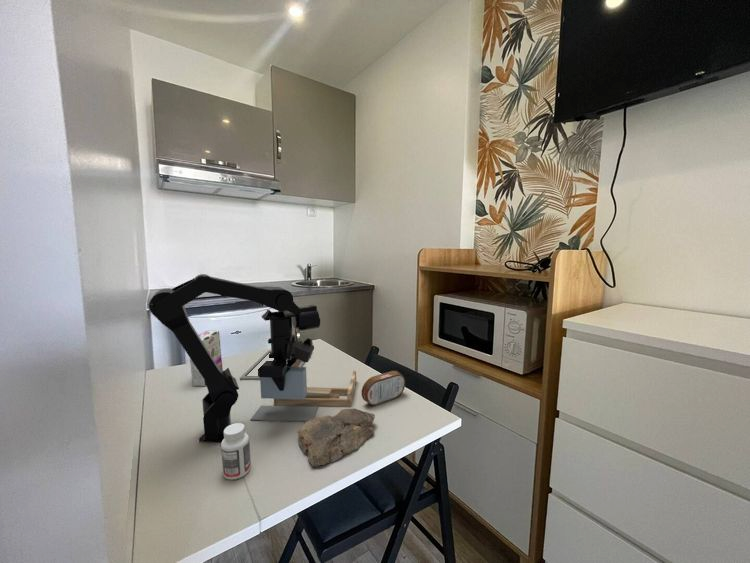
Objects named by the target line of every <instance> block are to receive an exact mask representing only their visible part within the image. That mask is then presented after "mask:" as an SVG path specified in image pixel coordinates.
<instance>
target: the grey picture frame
mask: <svg viewBox="0 0 750 563" xmlns="http://www.w3.org/2000/svg"><path fill="white" fill-rule="evenodd" d="M269 353H271V349H269V350H267V352H265V353H264V354H263V355H262V356H261V357H260V358H259V359H258V360H257V361H256V362H254V363H253V365H252V366H250V367H249V369H248V370H246V371H245V372H244V373H243V375H241V376H240V377H239V381H242V380H260V377H259V376H247V375H248V374H249V373H250V372H251V371H252V370H253V369H254V368H255V367H256V366H257V365H258V364H259V363H260V362H261V361H262V360H263V359H264V358H265V357H266V356H267V355H268V354H269ZM305 363H306V362H302V360H299V359H297V361H296V362H295V363H294V364H293V365H292V367H304V365H305Z"/></svg>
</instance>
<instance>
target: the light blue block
mask: <svg viewBox="0 0 750 563" xmlns="http://www.w3.org/2000/svg"><path fill="white" fill-rule="evenodd" d="M307 380H308V378H307V367H306V366H303V367H291V368H290V370H289V371H288V372H287V373H286V377H285V386H284V390H283V391H280V390H279V389H278V387H277V386H276V384H275V382H274V381H273V379H272V378H269V377H260V382H259V383H260V398H261V399H271V400H272V399H273V400H274V399H304V398H305V397H306V395H307V387H308V386H307V385H308V384H307Z"/></svg>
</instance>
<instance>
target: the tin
mask: <svg viewBox="0 0 750 563" xmlns="http://www.w3.org/2000/svg"><path fill="white" fill-rule="evenodd" d="M405 387H406V378H405V377H404V376H403V374H401V372H399V371H398V370H391V371H388V372H384V373H381V374H376V375H374V376H371V377H369V378H368V379H366V381H365V382H364V383H363V385H362V388H361V398H362V400H363V401H365V403H367V404H368V405H369V406H370V405H371V406H378V405H380V404H383V403H386V402H390V401H392V400H394V399H397V398H399V397H400V396H401V395H402V393H403V392H404V391H405Z"/></svg>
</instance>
